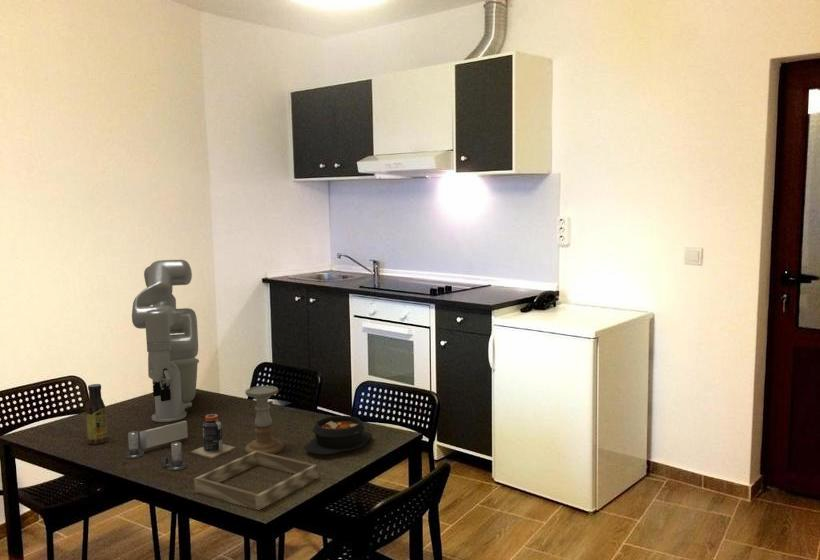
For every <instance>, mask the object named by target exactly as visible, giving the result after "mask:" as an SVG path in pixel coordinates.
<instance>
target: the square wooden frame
mask: <svg viewBox="0 0 820 560" xmlns="http://www.w3.org/2000/svg"><path fill="white" fill-rule="evenodd" d="M259 465H260V467H263V466H264V467H263V468H267V467H269V468H268V469H271V468H273V469H272V470H275V469H277V470H276V471H279V470H281V472H283V471H285V472H284V473H287V472H289V473H288V474H291V473H294V474H292V476H289V477H287V478H285V479H284V480H281V481H280V482H278V483H276V484H274V485H271V486H270V487H268V488H267V489H265V490H263V491H261V492H259V493H258V492H254V491H249V490H245V489H241V488H238V487H235V486H231V485H227V484H225V483H221V482H224V481H226V480H228V479H230V478H232V477H234V476H236V475H238V474H240V473H243V472H245V471H247V470H249V469H251V468H253V467H255V466H259ZM316 478H317V479H318V478H319V467H318V464H315V463H311V462H306V461H303V460H302V461H301V460H298V459H294V458H290V457H285V456H281V455H278V454H277V455H276V454H269V453H264V452H260V451H254V452H251V453H249V454H247V453H246V454H245V455H242V456H241V457H239V458H236V459H234V460H232V461H229V462H226V463H225V464H223V465H220V466H219V467H216V468H215V469H211V470H209V471H207V472H205V473H203V474H201V475H199V476H196V477H195V478H193V482H194V484H193V485H194V493H197V494H200V495H204V496H206V497H210V498H214V499H217V500H220V501H223V502H227V503H230V504H234V505H237V504H238V506H240V505H242V506H241V507H244V506H245V507H244V508H247V507H249V508H248V509H251V508H253V509H252V510H254V509H257V510H260V509H262V508H264V507H265V506H267V505H269V504H271V503H273V502H275V501H276V502H278V501H279V499H280V500H281V498H282V497H284V496H285V497H287V496H289V495H290V493H291V492H292V493H294V492H296V491H297V490H296V489H298V488H300V487H301V488H303V487H305V486H306V485H305V484H307V483H308V484H310V483H311V482H310V481H312V480H314V479H316ZM317 479H316V480H317ZM314 481H315V480H314ZM309 482H310V483H309ZM312 482H313V481H312ZM308 484H307V485H308ZM304 485H305V486H304ZM302 486H303V487H302ZM301 488H300V489H301ZM295 490H296V491H295ZM298 490H299V489H298ZM293 491H294V492H293ZM292 493H291V494H292ZM288 494H289V495H288ZM286 495H287V496H286ZM285 497H284V498H285ZM282 499H283V498H282ZM277 500H278V501H277ZM276 502H275V503H276ZM273 504H274V503H273ZM271 505H272V504H271ZM269 506H270V505H269ZM267 507H268V506H267ZM264 509H265V508H264ZM257 510H256V511H257ZM262 510H263V509H262ZM260 511H261V510H260Z"/></svg>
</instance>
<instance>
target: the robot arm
mask: <svg viewBox="0 0 820 560" xmlns="http://www.w3.org/2000/svg"><path fill="white" fill-rule="evenodd" d="M149 265H150V266H147V267H146V268H145V270H144V271H143V276H144V282H145V286H146V287H145V289H143V290H141V291H140V292H139V293H138V294H137V296H135V298H134V299H133V303H132V309H131V322H132V325H133V326H134V328H136V329H141V330H143V329H145V336H146V337H145V340H146V352H147V366H148V367H147V371H148V378H149V379H151V381H152V394H153V397H154V406H155V407H154V408H155V409H154V410H155V412H154V413H153V414H152V415H151V420H152V421H153V422H156V423H157V422H158V423H169V422H170V423H171V422H176V421H180V420H182V419H185V418H186V417H187V415H188V414H187V411H185V410H186V409H187V408H191V407H192V406H193V403H192V401H190V402H188V403H184V402H183V403H182V399H181V382H180V371H179V368H178V367H177V366H176V365H175V364H174V363H173V362H172V360H180V359H191V358H194V357H195V358H196V357H197V356H198V353H199V334H198V332H199V331H198V320H197V315H196V311H194V310H193V308H189V307H186V308H185V307H184V308H177V299H176V297H175V295H174V294H173V287H174V286H187V285H189V284H190V283H191V281H192V278H193V273H192V268H191V266H190V263H189V262H188V261H187V260H184V259H164V260H163V259H161V260H155V261H154V262H152V263H151V264H149Z"/></svg>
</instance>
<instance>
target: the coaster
mask: <svg viewBox="0 0 820 560" xmlns="http://www.w3.org/2000/svg"><path fill="white" fill-rule="evenodd" d="M222 445H223V447H222V449H220V450H218V451H214V452H207V451H205V450H204V445H203V446H201V447H198V448H195V449H193V450H191V451H190V454H192V455H196V456H200V457H202V458H203V457H204V458H207V459H212V460H213V459H216V458H218V457H220V456H222V455H224V454H226V453H229V452H231V451H234V450H236V449H237V448H236V446H233V445H228V444H224V443H222Z"/></svg>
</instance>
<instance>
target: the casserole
mask: <svg viewBox="0 0 820 560" xmlns="http://www.w3.org/2000/svg"><path fill="white" fill-rule="evenodd" d="M312 432H313V433H314V435H315V437H313V439H311V441H310V442H309V443H306V445H304V447H303V449H304V450H305V451H306V452H309V453H312V454H316V455H322V456H324V455H325V456H329V455H333V454H339V453H345V452H350V451H353V450H357V449H359V448H361V447H363V446H365V445H366V444H367V443H368V441H369V440H370V439H371V438H373V434H372V433H371V432H369V431H367V430H365V425H364V424H363V423H362V420H361V419H360V418H358V417H356V416H351V415H333V416H332V415H331V416H326V417H324V418H321V419H319V420H317V421H316V422H315V424H314V427H313V429H312Z"/></svg>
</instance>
